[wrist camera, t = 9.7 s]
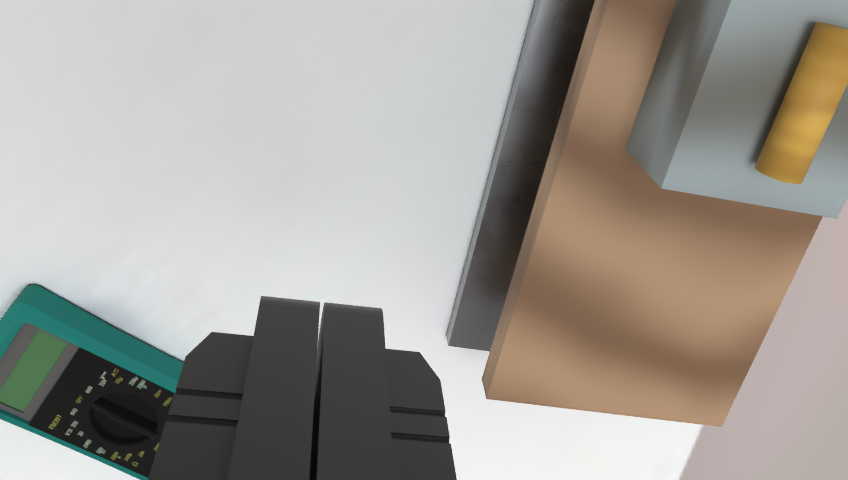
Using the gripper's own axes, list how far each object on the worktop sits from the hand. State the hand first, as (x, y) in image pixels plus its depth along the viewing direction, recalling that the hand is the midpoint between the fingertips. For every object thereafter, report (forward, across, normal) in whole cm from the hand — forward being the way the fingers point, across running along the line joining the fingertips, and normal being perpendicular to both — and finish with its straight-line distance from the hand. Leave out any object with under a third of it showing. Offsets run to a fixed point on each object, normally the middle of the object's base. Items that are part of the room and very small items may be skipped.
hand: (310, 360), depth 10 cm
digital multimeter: (+27, +8, +23) cm, 37 cm away
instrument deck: (+22, -16, +4) cm, 27 cm away
